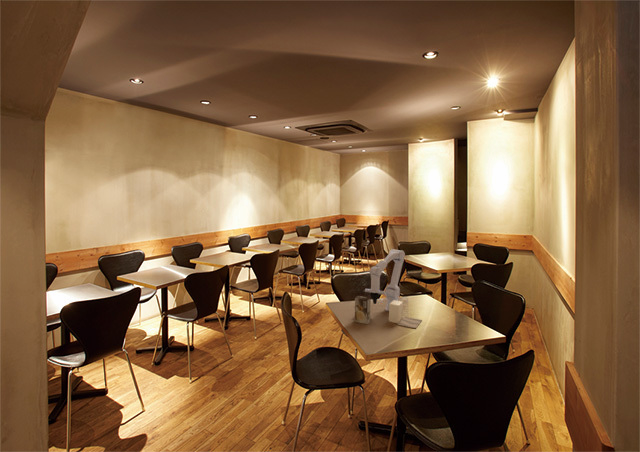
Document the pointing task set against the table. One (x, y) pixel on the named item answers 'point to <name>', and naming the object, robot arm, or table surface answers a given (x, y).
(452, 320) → the table surface
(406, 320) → the board
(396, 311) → the carton
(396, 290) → the robot arm
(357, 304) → the coffee box
